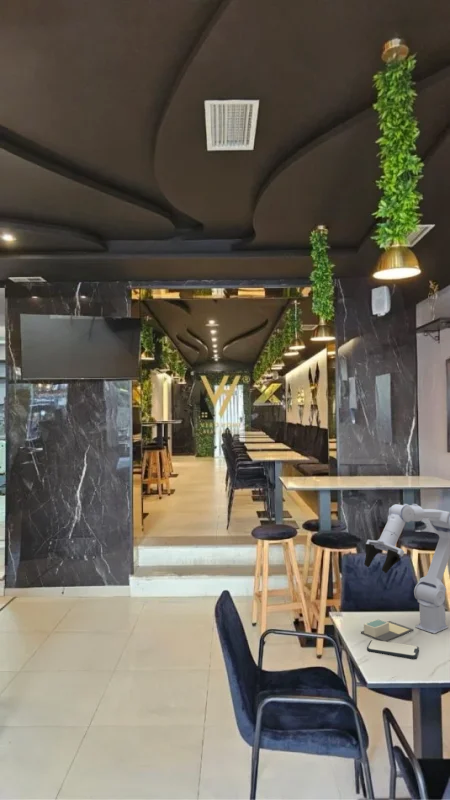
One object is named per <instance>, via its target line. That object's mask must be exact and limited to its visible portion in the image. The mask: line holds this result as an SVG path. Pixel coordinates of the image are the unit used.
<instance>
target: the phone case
mask: <svg viewBox="0 0 450 800" xmlns="http://www.w3.org/2000/svg"><path fill="white" fill-rule="evenodd" d="M366 651H367V652H369V653H374V654H380V655H385V656H391V657H396V658H403V659H409V660H416V659H418V656H419V652H420V648H419V646H417V645H413V644H405V643H398V642H391V641H388V642H385V641H379V640H376V639H372V640H371V639H370V641H369V643H368V645H367V646H366Z"/></svg>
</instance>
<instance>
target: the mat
mask: <svg viewBox="0 0 450 800" xmlns="http://www.w3.org/2000/svg"><path fill="white" fill-rule="evenodd" d="M387 622H388V623H389V632H388V633H385V634H383V635H380V636H378V637H373V636H370V635H368V634H365V633H364V630H362V631H360V634H361V635H363V636H367V637H369V638H371V639H373V640H378V641H385V642H391V641H392V640H395V639H397V638H399V637H402V636H404V635H407V634H409V632H410V633H411V632H414V628H411V627H408V626H405V625H402V624H399V623H396V622H393V621H391V620H388V621H387Z"/></svg>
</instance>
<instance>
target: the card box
mask: <svg viewBox="0 0 450 800" xmlns="http://www.w3.org/2000/svg"><path fill="white" fill-rule="evenodd" d="M363 631H364V633H365V634H368V635H370V636H373V637H378V636H380V635H383V634H385V633H388V632H389V623H388V621H385V620H381V619H379V618H377V619H374V620H371V621H369V622H366V623H363Z"/></svg>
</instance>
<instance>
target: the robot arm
mask: <svg viewBox="0 0 450 800" xmlns="http://www.w3.org/2000/svg"><path fill="white" fill-rule="evenodd" d="M423 519H428V521H429V522H430V525H431V527H432V529H433V530H434V532H435V534H437V536H438V541H437V544H436V547H435V550H434V553H433V556H432V558H431V562H430V565H429V567H428V571H427V574H426V575H425V576H423V577H420V578H419V580H418V582H417V583H416V584H415V587H414V590H413V593H414V598H415V599H416V600H417V603H419V604H418V605H419V606H418V607H419V624H417V625H415V628H416V629H420V630H422V631H425V632H427V633H432V634H437V633H439V632H441V631H445V630H446V629H448V628H449V626H448V625H447V624H446V622H447V620H446V619H447V618H446V608H445V606H444V605H443V604H444V602H445V600H446V591H447V588H446V586H445V585H444V583H443V582H442V580H443V577H444V574H445V571H446V568H447V565H448V562H449V560H450V511H446V510H441V509H437V508H436V509H435V508H423V507H422V506H421V505H418V504H417V503H411V505H410V504H408V503H403V504H397V503H396V504H395V503H394V504H393V505H392V506H391V507H389V508H388V516H387V522H386V524H385V526H384V528H383V530H382V532H381V534H380V537H379V538H378V539H377V540H372V539H367V540H366V542H365V557H364V558H365V559H364V566H366V567H367V568H369V567H371V564H372V562H373V560H374V559H375V557H376V556H377V555H378V554H379V550H381V551H385V552H386V553H387V554H386V558H385V561H384V563H383V565H382V568H381V571H383V573H384V574H387V573H388V572H389V570H391V568H392V567H394V566H395V564H397V563H398V562H400V561H401V559H402V558H401V557H403V556H404V554H405V550H403V549H402V548H399V547H397V546H396V545H397V542H398V540H399V538H400V536H401V534H402V532H403V529H404V528H405V525H406V523H410V522H420V521H422V520H423Z"/></svg>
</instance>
